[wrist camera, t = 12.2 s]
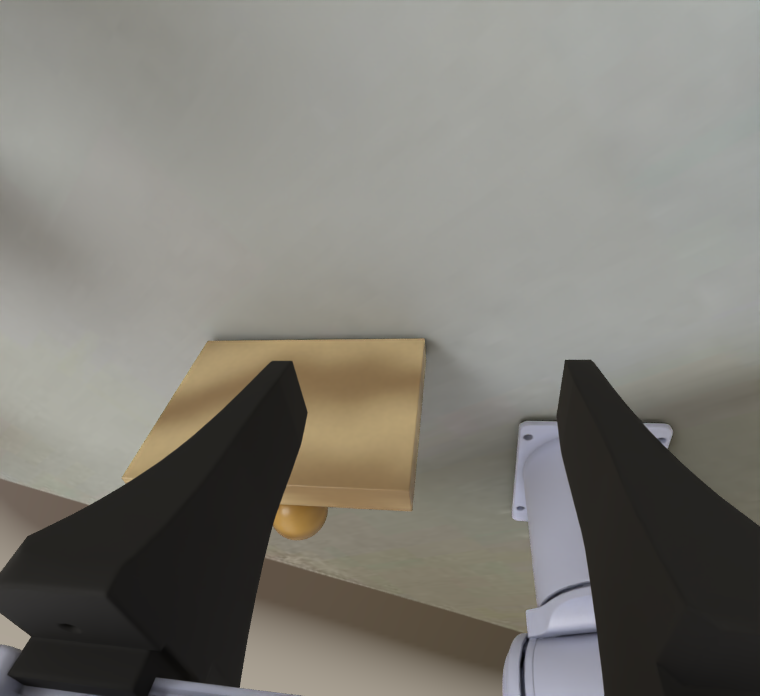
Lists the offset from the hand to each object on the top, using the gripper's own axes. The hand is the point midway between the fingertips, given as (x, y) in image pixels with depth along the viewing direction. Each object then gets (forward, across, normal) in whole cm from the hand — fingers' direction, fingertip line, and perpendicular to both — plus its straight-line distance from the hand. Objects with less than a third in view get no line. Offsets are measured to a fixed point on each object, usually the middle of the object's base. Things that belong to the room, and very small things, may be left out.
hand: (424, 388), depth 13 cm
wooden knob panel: (+6, +7, +6) cm, 11 cm away
